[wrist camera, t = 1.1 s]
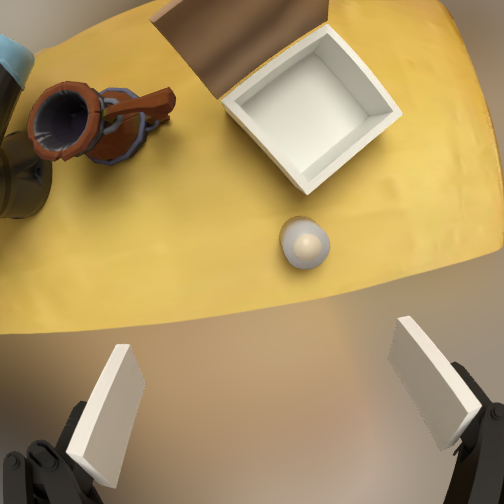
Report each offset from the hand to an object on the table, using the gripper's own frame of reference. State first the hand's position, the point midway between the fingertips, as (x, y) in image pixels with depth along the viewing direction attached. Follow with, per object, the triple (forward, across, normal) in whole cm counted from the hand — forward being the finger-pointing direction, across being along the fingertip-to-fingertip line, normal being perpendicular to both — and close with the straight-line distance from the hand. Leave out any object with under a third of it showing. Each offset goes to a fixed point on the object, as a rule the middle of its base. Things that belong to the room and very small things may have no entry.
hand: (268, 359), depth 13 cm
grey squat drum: (+28, +7, -4) cm, 30 cm away
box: (+29, +9, +14) cm, 33 cm away
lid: (+14, +3, +22) cm, 26 cm away
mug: (+29, -15, +15) cm, 36 cm away
